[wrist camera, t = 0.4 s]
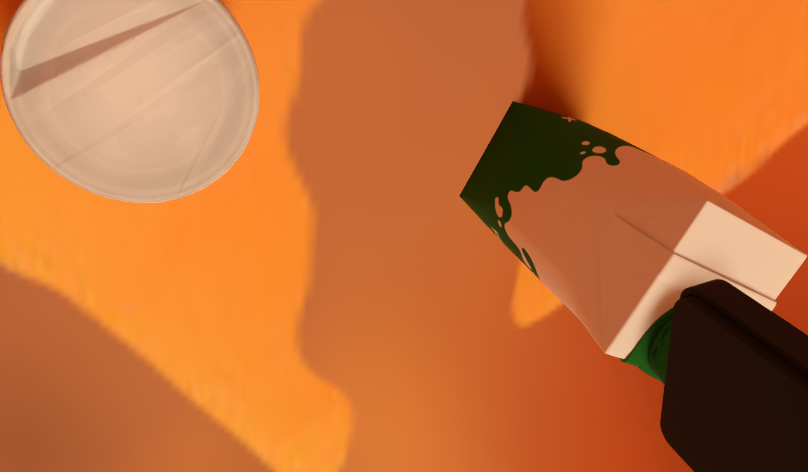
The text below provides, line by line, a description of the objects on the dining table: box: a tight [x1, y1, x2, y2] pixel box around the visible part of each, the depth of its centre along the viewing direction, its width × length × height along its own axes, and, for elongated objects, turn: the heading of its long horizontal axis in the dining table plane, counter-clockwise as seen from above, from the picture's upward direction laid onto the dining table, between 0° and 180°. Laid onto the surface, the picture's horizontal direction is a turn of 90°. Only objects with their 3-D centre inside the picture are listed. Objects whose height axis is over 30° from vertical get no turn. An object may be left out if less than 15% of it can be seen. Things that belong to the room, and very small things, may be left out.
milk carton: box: [460, 101, 807, 384], centre depth 36 cm, size 9×9×20 cm
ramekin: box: [0, 0, 260, 203], centre depth 32 cm, size 11×11×5 cm
